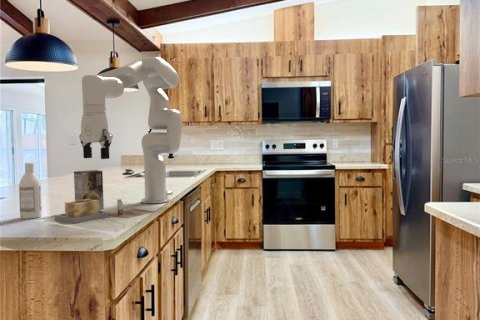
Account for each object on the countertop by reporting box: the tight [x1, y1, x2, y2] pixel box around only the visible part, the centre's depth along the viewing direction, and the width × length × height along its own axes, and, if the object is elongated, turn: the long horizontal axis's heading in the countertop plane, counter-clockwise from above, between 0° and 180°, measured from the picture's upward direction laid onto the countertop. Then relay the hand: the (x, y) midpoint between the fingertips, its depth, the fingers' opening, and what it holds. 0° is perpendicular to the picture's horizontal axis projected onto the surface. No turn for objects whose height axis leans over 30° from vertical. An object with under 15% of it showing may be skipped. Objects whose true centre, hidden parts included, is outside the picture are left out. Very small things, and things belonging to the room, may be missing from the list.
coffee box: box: [73, 169, 105, 211], centre depth 152 cm, size 9×6×16 cm
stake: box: [116, 198, 124, 215], centre depth 142 cm, size 2×2×6 cm
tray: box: [54, 210, 110, 224], centre depth 136 cm, size 14×12×2 cm
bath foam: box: [18, 162, 42, 220], centre depth 140 cm, size 7×7×20 cm
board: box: [109, 208, 157, 219], centre depth 145 cm, size 15×12×1 cm
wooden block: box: [64, 199, 100, 218], centre depth 136 cm, size 9×6×6 cm
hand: (96, 158), depth 138 cm, fingers open, 9 cm apart
